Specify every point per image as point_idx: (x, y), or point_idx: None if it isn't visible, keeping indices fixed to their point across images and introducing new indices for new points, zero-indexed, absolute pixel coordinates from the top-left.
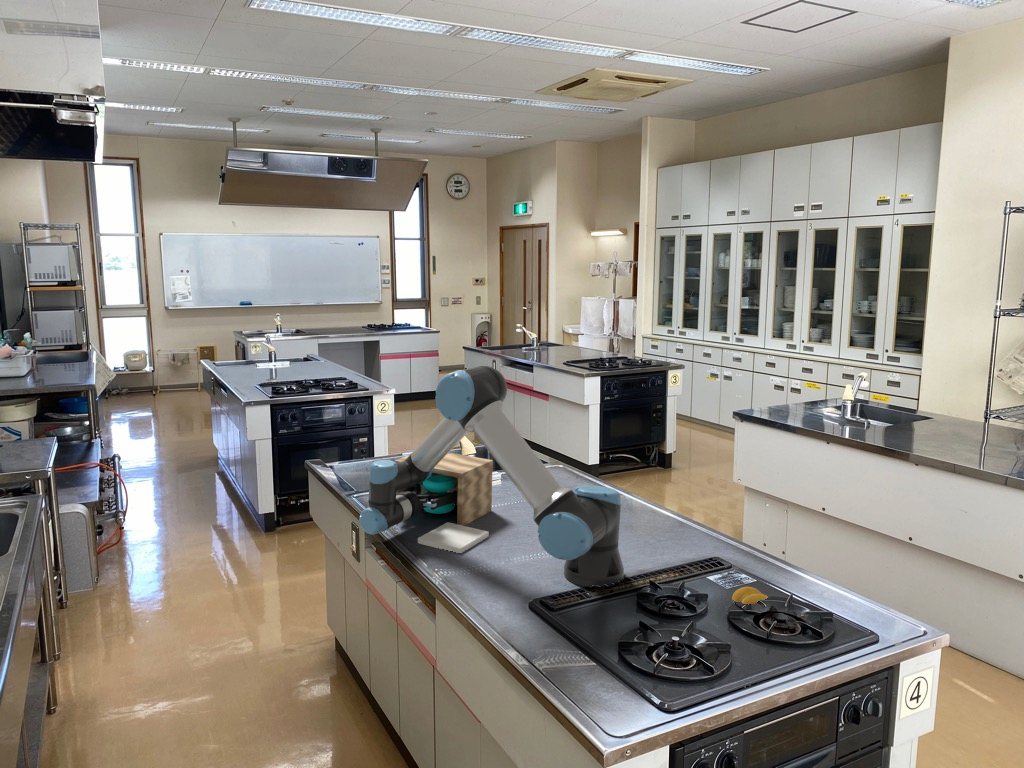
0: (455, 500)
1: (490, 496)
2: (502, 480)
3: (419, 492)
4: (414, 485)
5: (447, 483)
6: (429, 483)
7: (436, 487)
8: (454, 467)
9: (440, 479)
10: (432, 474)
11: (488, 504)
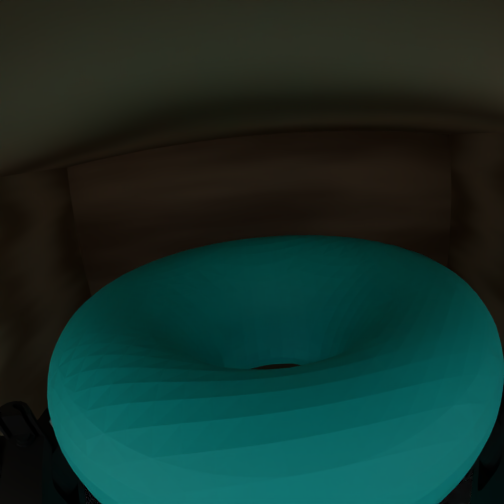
0: (272, 367)
1: None
2: None
3: (76, 485)
4: (28, 368)
5: (485, 307)
6: (241, 498)
7: (453, 484)
8: None
9: (244, 286)
10: (109, 270)
11: None
